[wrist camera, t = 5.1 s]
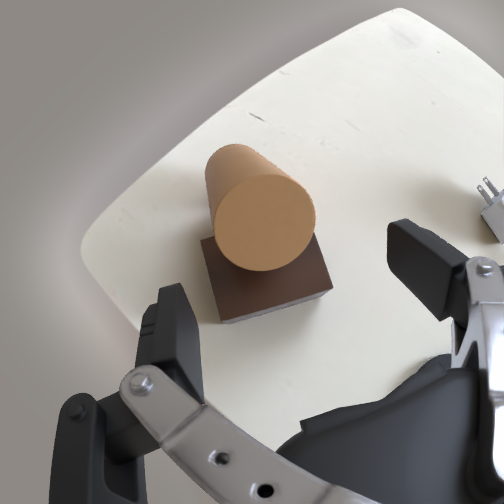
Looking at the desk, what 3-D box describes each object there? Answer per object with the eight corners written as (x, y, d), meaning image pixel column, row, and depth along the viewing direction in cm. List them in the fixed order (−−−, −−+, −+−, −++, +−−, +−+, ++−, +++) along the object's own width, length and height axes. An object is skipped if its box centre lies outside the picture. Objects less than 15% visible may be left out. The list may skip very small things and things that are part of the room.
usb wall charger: (499, 245, 25) (521, 234, 21) (465, 198, 26) (484, 181, 22) (510, 226, 25) (530, 214, 21) (478, 181, 27) (496, 165, 23)
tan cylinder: (300, 283, 24) (337, 232, 13) (239, 301, 24) (219, 266, 12) (258, 161, 28) (257, 60, 16) (205, 175, 27) (175, 79, 16)
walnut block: (322, 295, 24) (333, 287, 20) (227, 324, 23) (221, 321, 20) (299, 229, 26) (306, 210, 22) (208, 254, 25) (199, 239, 21)
